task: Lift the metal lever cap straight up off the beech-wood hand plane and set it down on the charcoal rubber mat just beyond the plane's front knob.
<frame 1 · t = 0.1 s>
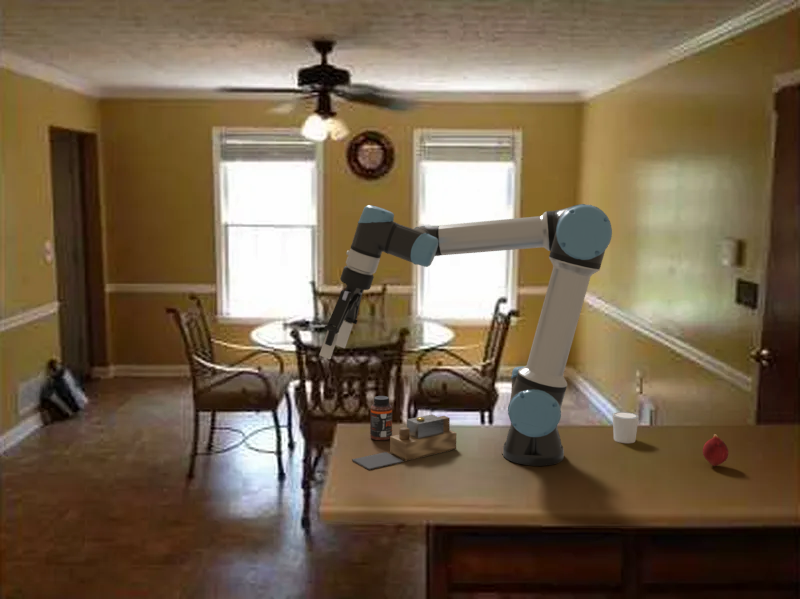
hand: (332, 351, 188), 28 cm above the counter, tool tilted 20°, fingers open, 13 cm apart
white cup: (624, 440, 210), on the counter
mat: (377, 461, 192), on the counter
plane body: (423, 451, 200), on the counter
lever cap: (425, 434, 199), point 4 cm above the counter, touching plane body
onion: (714, 467, 189), on the counter
supplement bottle: (381, 438, 211), on the counter
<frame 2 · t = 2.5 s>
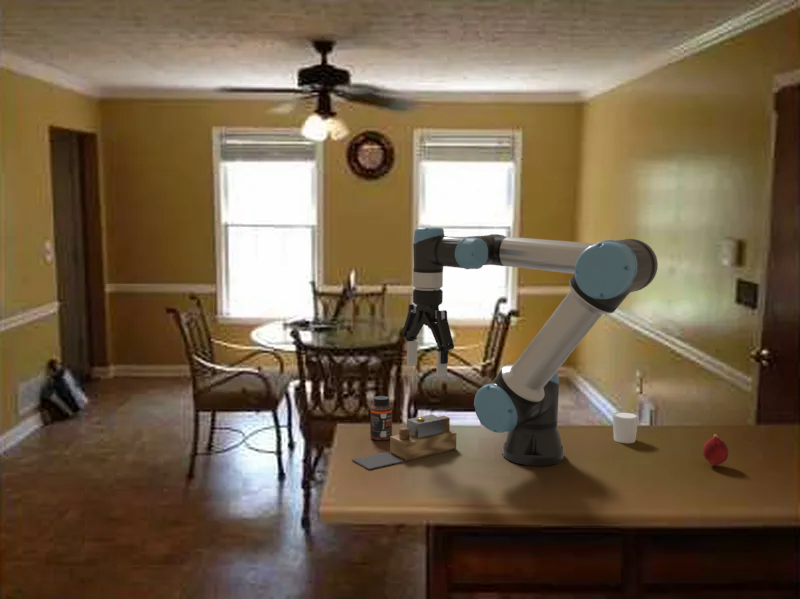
hand: (426, 370, 198), 21 cm above the counter, tool pointing down, fingers open, 13 cm apart
nothing on the counter moved.
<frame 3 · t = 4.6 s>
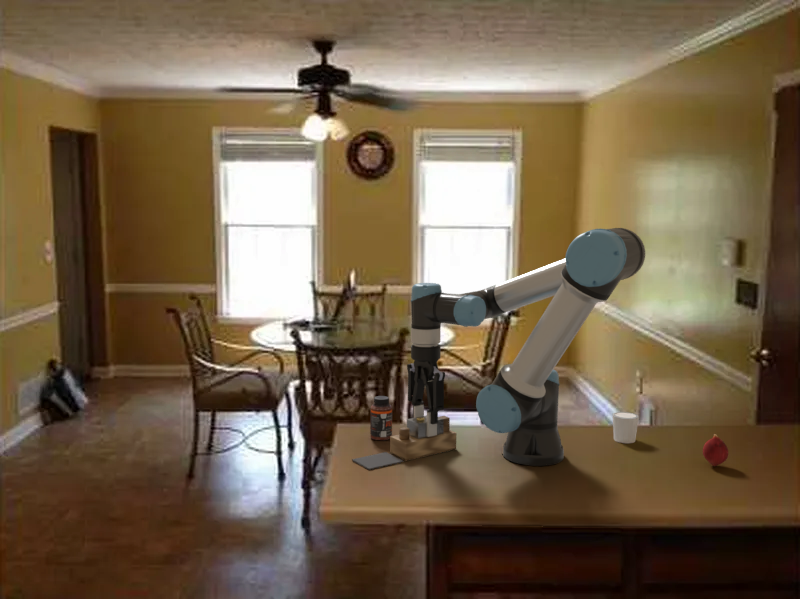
hand: (425, 432, 199), 5 cm above the counter, tool pointing down, fingers closed on lever cap, 5 cm apart
lever cap: (425, 434, 199), point 5 cm above the counter, touching gripper, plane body
everything else where it was.
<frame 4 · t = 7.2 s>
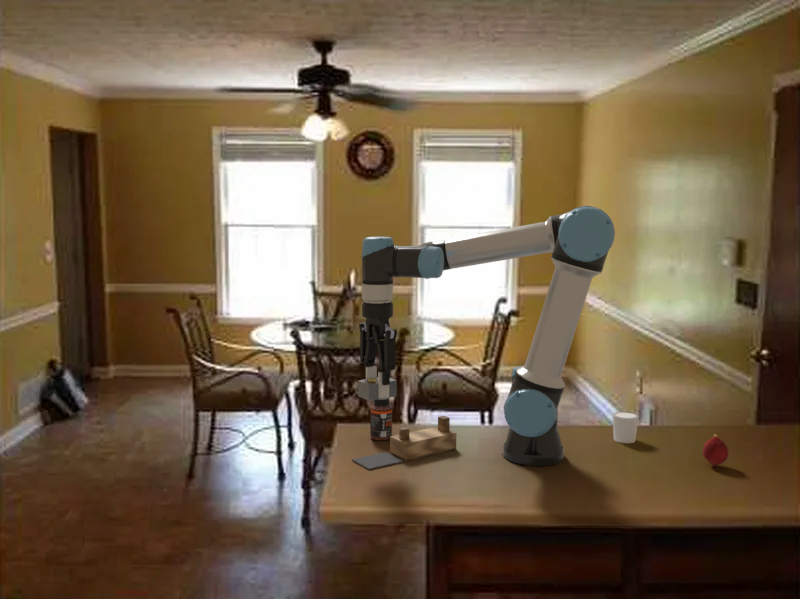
hand: (377, 394, 190), 17 cm above the counter, tool pointing down, fingers closed on lever cap, 5 cm apart
lever cap: (377, 396, 190), point 17 cm above the counter, touching gripper
everything else where it was.
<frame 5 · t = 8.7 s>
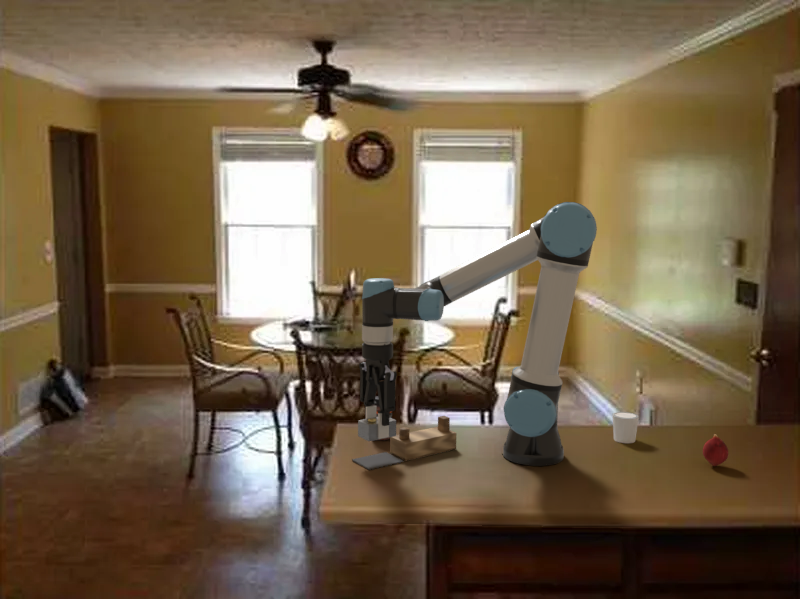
hand: (377, 434, 191), 7 cm above the counter, tool pointing down, fingers closed on lever cap, 5 cm apart
lever cap: (377, 436, 191), point 7 cm above the counter, touching gripper
everything else where it was.
when the fingers open (2 cm above the counter, at t = 10.0 s): lever cap drops 1 cm, resting on mat.
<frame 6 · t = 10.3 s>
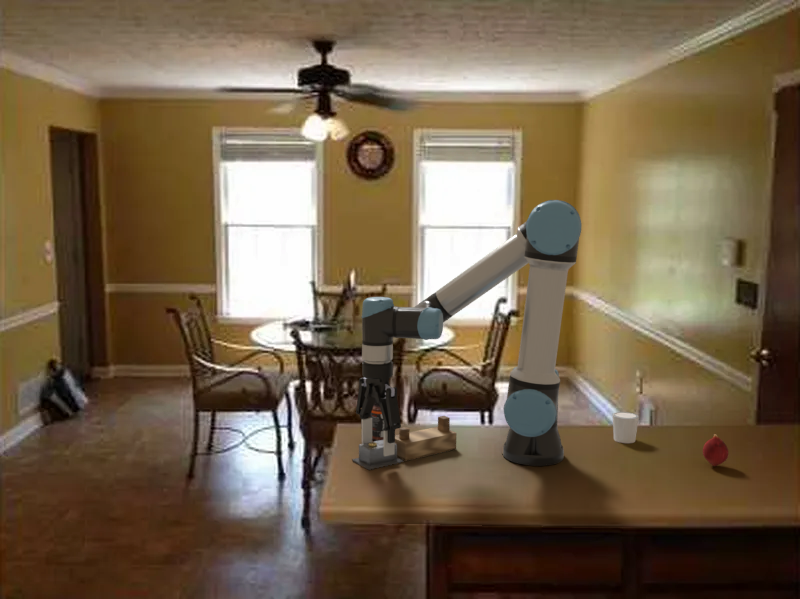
hand: (377, 449, 191), 3 cm above the counter, tool pointing down, fingers open, 9 cm apart
lever cap: (377, 460, 192), resting on mat
everything else where it was.
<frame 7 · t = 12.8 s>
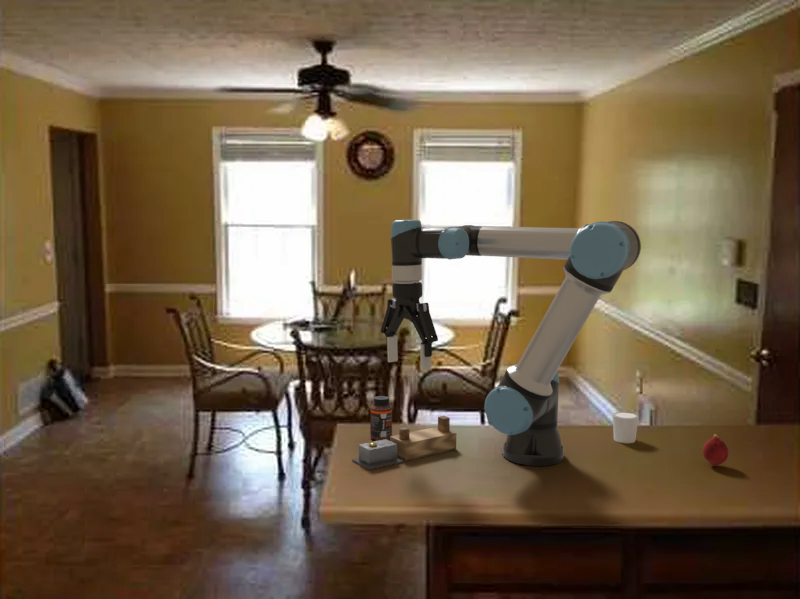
hand: (408, 365, 195), 23 cm above the counter, tool pointing down, fingers open, 13 cm apart
nothing on the counter moved.
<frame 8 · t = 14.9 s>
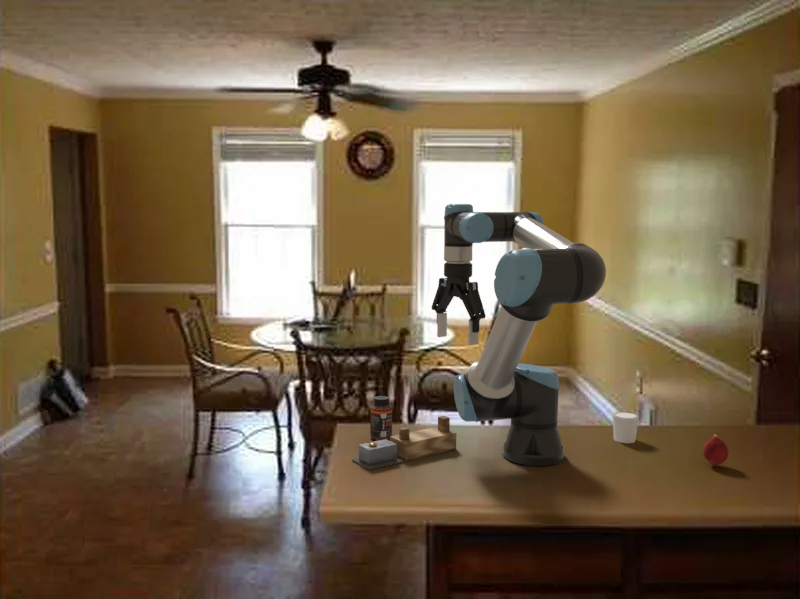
hand: (457, 340, 209), 27 cm above the counter, tool pointing down, fingers open, 13 cm apart
nothing on the counter moved.
at the end: lever cap inside the target area on the mat (0.0 cm from its centre), point 0.4 cm above the mat's base; lever cap tilted 0°; lever cap touching mat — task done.
